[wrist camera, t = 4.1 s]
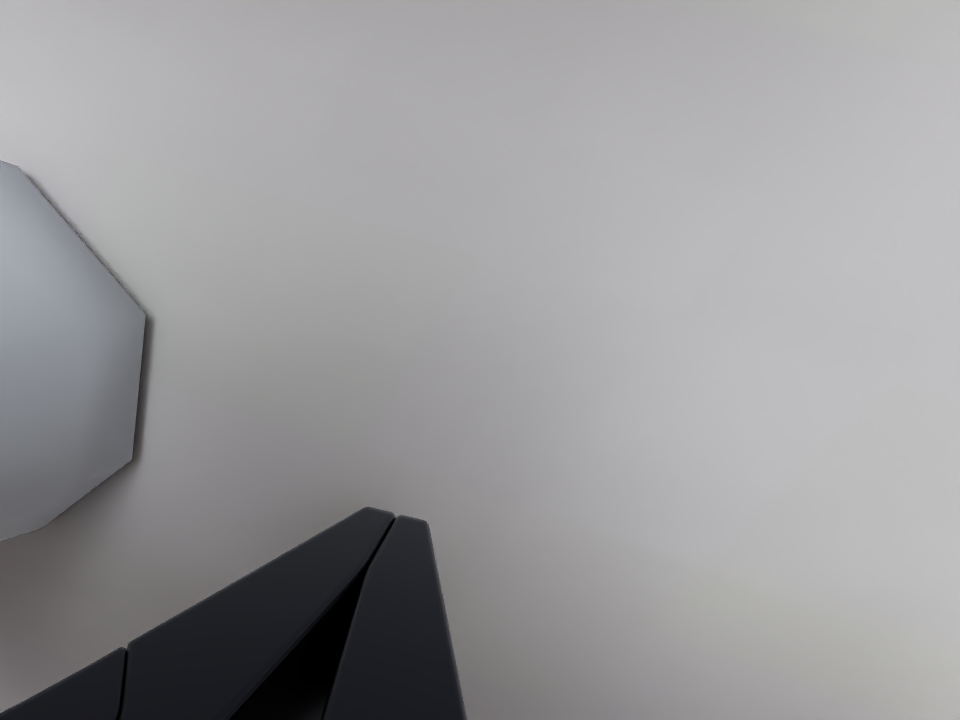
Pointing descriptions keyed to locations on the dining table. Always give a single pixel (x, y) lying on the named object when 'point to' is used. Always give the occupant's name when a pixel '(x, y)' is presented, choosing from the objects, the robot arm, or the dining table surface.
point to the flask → (59, 362)
